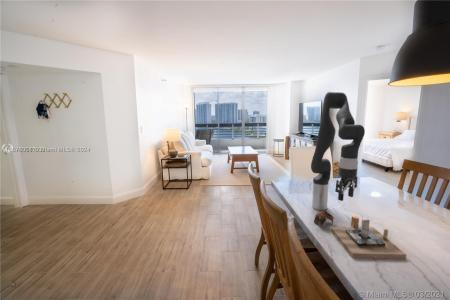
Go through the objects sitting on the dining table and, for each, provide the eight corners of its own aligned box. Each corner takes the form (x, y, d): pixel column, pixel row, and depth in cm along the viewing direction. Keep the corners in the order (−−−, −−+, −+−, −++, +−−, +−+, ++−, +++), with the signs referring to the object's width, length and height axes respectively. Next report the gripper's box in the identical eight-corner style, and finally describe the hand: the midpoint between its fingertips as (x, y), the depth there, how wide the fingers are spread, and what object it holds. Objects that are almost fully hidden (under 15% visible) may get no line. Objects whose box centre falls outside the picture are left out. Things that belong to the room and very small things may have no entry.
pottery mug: (313, 218, 127) (321, 207, 126) (328, 229, 122) (336, 218, 121) (310, 222, 117) (318, 210, 115) (326, 234, 112) (335, 221, 111)
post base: (330, 230, 112) (331, 209, 111) (373, 230, 111) (375, 209, 109) (352, 257, 91) (354, 232, 89) (405, 258, 89) (408, 232, 87)
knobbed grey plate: (341, 227, 111) (342, 215, 110) (364, 228, 110) (365, 216, 109) (358, 245, 95) (359, 232, 94) (385, 246, 94) (386, 232, 93)
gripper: (347, 170, 93) (344, 204, 96) (364, 165, 100) (361, 197, 103) (331, 167, 100) (329, 199, 103) (348, 162, 107) (346, 193, 110)
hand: (345, 198), depth 103 cm, fingers open, 8 cm apart
